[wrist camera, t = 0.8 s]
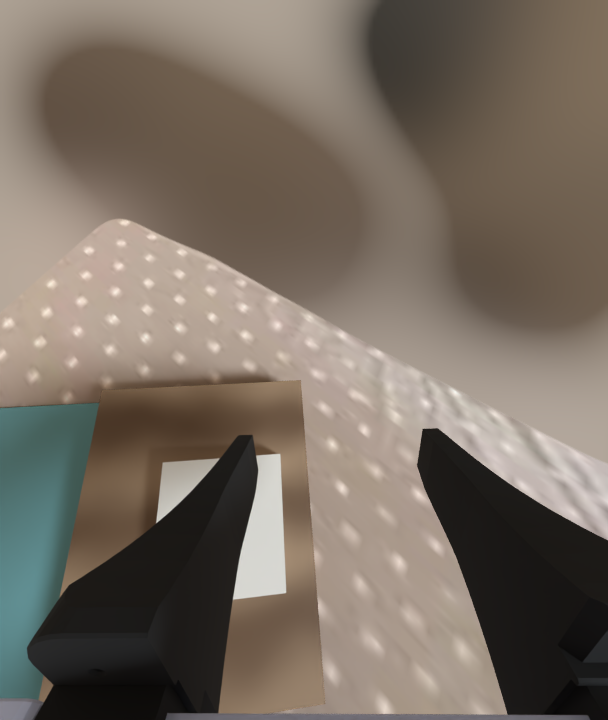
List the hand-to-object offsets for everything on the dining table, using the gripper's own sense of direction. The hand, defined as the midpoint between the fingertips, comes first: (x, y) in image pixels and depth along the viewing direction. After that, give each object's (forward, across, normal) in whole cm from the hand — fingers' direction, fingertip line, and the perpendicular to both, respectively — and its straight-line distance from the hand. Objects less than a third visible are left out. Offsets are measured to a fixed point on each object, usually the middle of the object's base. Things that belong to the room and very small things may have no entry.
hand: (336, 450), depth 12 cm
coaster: (+4, +8, +10) cm, 13 cm away
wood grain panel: (+6, +10, +12) cm, 17 cm away
